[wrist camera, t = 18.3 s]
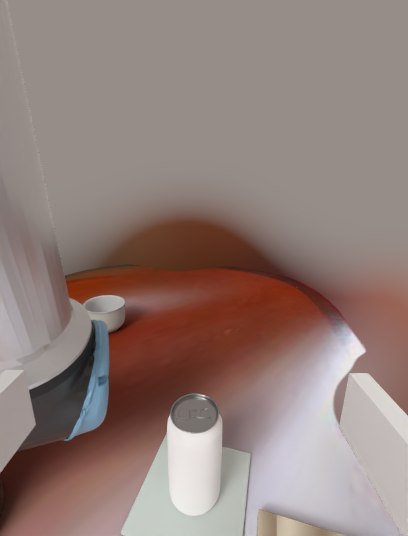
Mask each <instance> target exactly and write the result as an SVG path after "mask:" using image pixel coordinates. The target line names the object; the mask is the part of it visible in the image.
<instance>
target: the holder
mask: <svg viewBox="0 0 408 536" xmlns="http://www.w3.org/2000/svg"><path fill="white" fill-rule="evenodd" d="M257 536H345V535H342V534H339V533H336V532H332V531H329V530H326V529H322V528H319V527H316V526H313V525H309V524H306V523H303V522H299V521H296V520H293V519H290V518H286V517H283V516H280V515H276V514H273V513H270V512H266V511H263V510H260V509H259V511H258V524H257Z"/></svg>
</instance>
